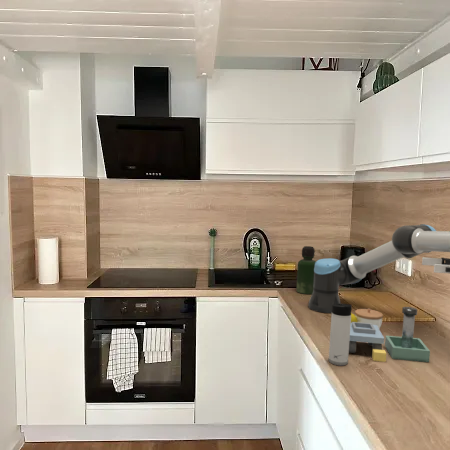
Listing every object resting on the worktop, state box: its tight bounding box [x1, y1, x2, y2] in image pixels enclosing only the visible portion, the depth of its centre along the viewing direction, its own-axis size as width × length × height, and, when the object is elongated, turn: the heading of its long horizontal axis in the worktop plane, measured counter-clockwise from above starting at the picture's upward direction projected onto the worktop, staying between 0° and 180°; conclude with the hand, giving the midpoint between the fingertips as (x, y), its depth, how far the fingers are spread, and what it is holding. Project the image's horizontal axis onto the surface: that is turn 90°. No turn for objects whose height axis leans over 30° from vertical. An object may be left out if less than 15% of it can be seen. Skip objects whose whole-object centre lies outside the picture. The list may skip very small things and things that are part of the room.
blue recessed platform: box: [349, 322, 385, 354], centre depth 154 cm, size 14×12×8 cm
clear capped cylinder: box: [401, 306, 418, 348], centre depth 150 cm, size 5×5×16 cm
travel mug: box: [328, 303, 353, 367], centre depth 141 cm, size 6×7×20 cm
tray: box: [384, 335, 431, 363], centre depth 151 cm, size 12×12×4 cm
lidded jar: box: [354, 308, 384, 329], centre depth 173 cm, size 11×11×9 cm
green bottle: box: [295, 245, 317, 295], centre depth 232 cm, size 10×10×25 cm
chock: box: [371, 348, 388, 363], centre depth 145 cm, size 3×4×3 cm
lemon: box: [351, 312, 357, 323], centre depth 171 cm, size 6×6×8 cm
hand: (428, 264), depth 150 cm, fingers open, 13 cm apart
